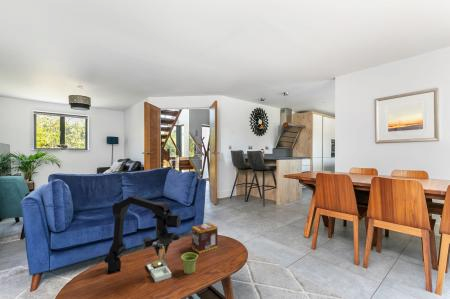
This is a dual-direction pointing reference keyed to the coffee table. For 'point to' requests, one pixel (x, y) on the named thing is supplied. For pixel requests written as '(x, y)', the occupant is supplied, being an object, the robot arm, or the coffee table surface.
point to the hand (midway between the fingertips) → (161, 254)
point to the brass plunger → (157, 263)
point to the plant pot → (189, 262)
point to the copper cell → (161, 251)
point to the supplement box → (204, 237)
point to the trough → (160, 273)
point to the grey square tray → (150, 267)
